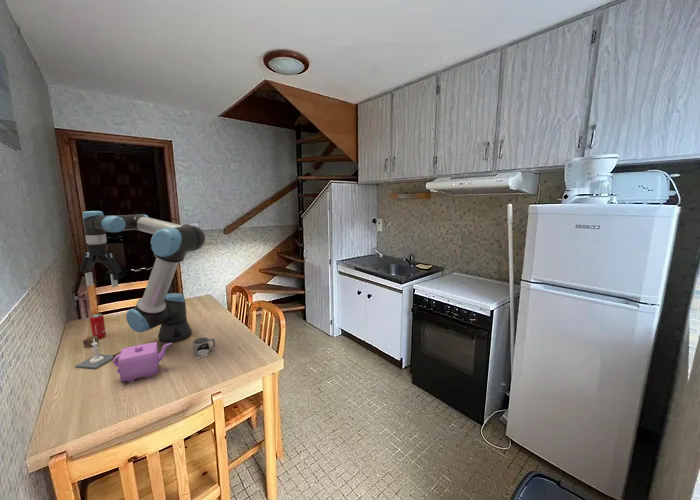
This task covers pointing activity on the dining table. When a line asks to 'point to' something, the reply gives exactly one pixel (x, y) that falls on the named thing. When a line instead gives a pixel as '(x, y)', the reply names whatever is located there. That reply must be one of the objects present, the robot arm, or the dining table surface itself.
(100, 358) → the chess piece
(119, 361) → the teapot
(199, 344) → the mug
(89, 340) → the walnut cube
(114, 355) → the walnut cube
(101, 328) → the beverage can
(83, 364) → the coaster
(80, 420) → the dining table surface
